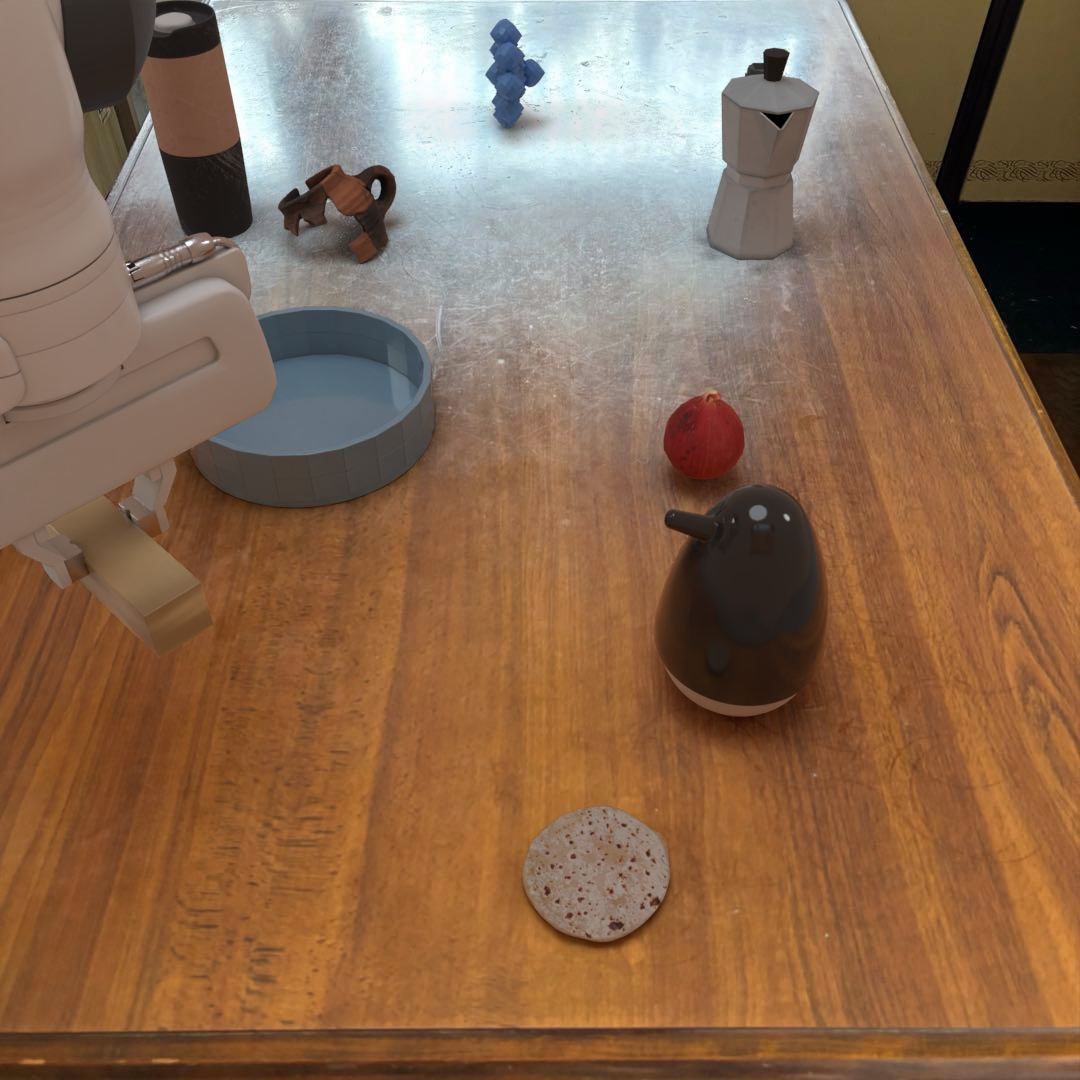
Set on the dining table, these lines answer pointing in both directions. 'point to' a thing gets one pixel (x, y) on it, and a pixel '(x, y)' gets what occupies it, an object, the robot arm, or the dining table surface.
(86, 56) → the robot arm
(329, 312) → the bowl
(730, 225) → the coffee maker
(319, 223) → the brown wooden curved piece
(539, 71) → the grapes
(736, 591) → the pump dispenser
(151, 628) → the gold bar
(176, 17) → the travel mug
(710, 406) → the onion
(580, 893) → the flatbread
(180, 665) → the dining table surface
